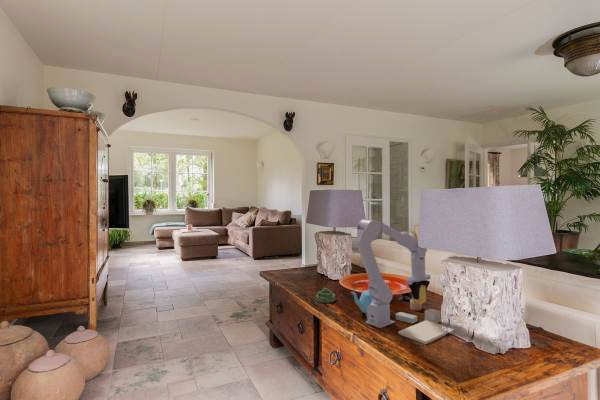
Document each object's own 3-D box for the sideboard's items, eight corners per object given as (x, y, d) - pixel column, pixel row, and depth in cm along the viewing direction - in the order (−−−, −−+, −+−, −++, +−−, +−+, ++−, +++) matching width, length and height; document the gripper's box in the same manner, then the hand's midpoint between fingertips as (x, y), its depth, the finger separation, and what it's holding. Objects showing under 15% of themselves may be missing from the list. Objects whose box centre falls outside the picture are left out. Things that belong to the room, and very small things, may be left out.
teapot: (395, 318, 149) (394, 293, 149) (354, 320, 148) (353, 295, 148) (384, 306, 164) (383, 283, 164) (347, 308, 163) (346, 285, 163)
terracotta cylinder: (417, 311, 156) (417, 302, 156) (408, 308, 160) (407, 300, 160) (423, 308, 159) (423, 300, 159) (414, 306, 163) (414, 298, 163)
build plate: (393, 300, 174) (392, 291, 174) (399, 297, 180) (398, 288, 180) (417, 304, 166) (416, 295, 166) (422, 301, 172) (422, 291, 172)
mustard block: (420, 303, 147) (419, 287, 147) (412, 301, 150) (412, 285, 150) (426, 301, 149) (425, 286, 149) (418, 299, 152) (417, 284, 152)
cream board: (425, 344, 122) (425, 341, 122) (398, 333, 132) (398, 331, 132) (453, 331, 133) (453, 328, 133) (426, 322, 142) (426, 320, 142)
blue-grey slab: (417, 321, 144) (417, 316, 144) (412, 324, 141) (412, 318, 141) (400, 317, 150) (400, 311, 150) (395, 320, 147) (395, 314, 147)
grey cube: (434, 324, 140) (434, 313, 140) (424, 321, 144) (424, 310, 144) (440, 321, 143) (440, 311, 143) (431, 318, 146) (430, 308, 146)
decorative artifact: (321, 304, 171) (338, 301, 175) (320, 290, 171) (338, 287, 175) (313, 299, 181) (330, 296, 184) (312, 285, 180) (329, 283, 184)
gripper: (415, 271, 142) (416, 303, 142) (436, 266, 150) (437, 296, 150) (401, 268, 148) (402, 299, 148) (422, 263, 156) (423, 293, 156)
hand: (419, 298), depth 149 cm, fingers closed on mustard block, 4 cm apart
